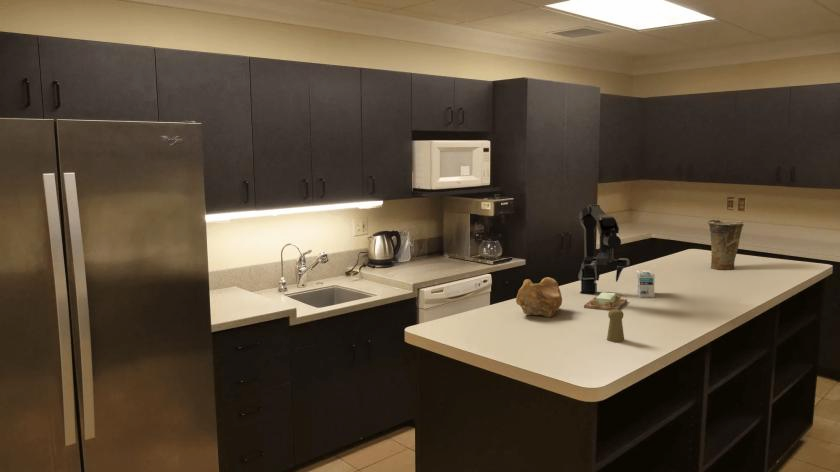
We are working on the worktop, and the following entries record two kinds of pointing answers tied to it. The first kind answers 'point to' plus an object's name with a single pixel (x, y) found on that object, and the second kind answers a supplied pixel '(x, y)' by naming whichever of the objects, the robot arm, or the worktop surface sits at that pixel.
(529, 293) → the rough brown rock
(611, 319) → the olive tapered pillar
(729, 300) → the worktop surface
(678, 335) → the worktop surface
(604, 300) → the pale green board
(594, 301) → the walnut plate
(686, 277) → the worktop surface
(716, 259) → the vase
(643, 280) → the light bulb box
